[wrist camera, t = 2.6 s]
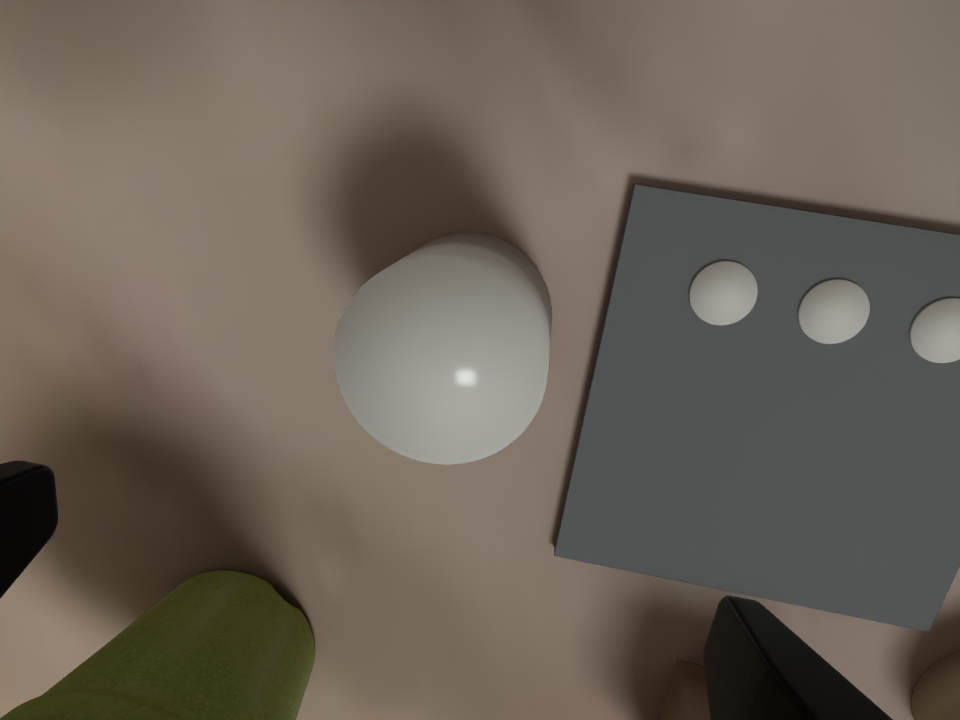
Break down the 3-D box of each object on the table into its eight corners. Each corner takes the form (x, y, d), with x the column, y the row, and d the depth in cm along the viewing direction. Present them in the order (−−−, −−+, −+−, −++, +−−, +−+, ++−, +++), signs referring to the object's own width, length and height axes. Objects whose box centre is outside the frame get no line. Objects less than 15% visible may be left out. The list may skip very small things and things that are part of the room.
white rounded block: (566, 246, 18) (567, 277, 13) (536, 404, 20) (527, 481, 15) (398, 219, 18) (341, 240, 14) (382, 376, 20) (326, 443, 15)
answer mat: (1092, 255, 16) (1108, 258, 16) (922, 623, 20) (930, 634, 20) (633, 184, 17) (635, 185, 17) (554, 548, 21) (554, 557, 21)
